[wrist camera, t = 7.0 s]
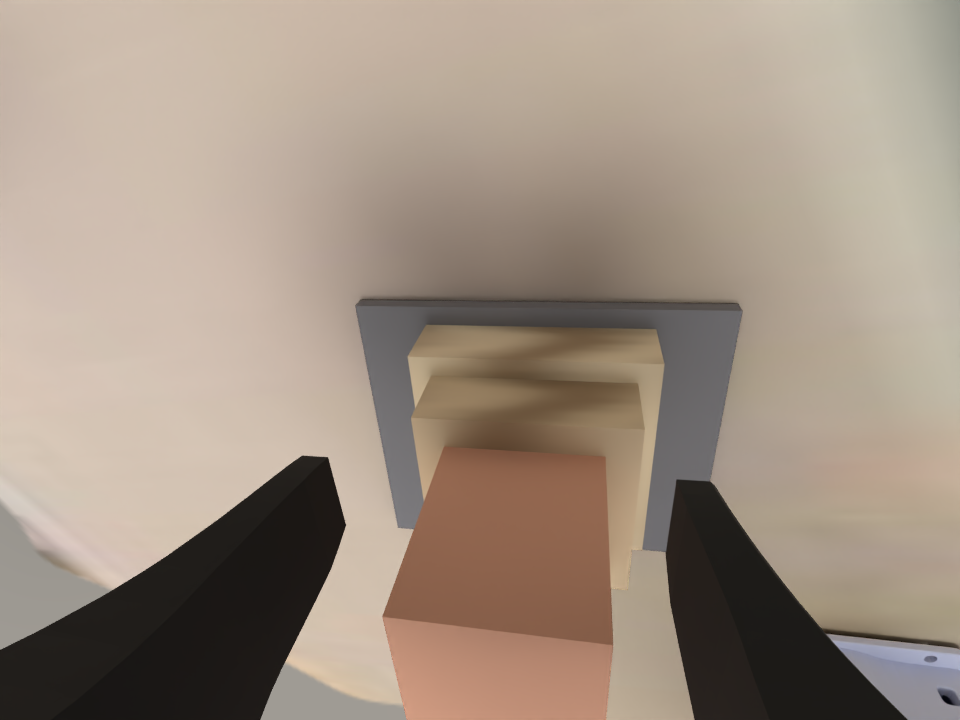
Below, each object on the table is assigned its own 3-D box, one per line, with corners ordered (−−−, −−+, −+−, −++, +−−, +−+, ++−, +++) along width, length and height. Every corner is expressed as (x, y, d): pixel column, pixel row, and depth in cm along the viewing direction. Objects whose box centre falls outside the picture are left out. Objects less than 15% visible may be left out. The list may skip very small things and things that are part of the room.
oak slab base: (656, 329, 19) (664, 364, 17) (637, 504, 23) (642, 550, 21) (425, 324, 21) (407, 356, 19) (446, 490, 25) (433, 531, 23)
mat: (738, 303, 19) (742, 310, 18) (693, 544, 25) (695, 554, 24) (360, 299, 21) (355, 306, 21) (401, 518, 27) (397, 527, 27)
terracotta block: (605, 456, 16) (613, 645, 11) (597, 569, 19) (601, 766, 14) (444, 446, 17) (382, 616, 12) (456, 555, 20) (410, 735, 15)
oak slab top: (638, 383, 18) (645, 430, 16) (623, 535, 21) (627, 590, 19) (431, 375, 19) (411, 417, 17) (449, 520, 22) (434, 570, 20)
